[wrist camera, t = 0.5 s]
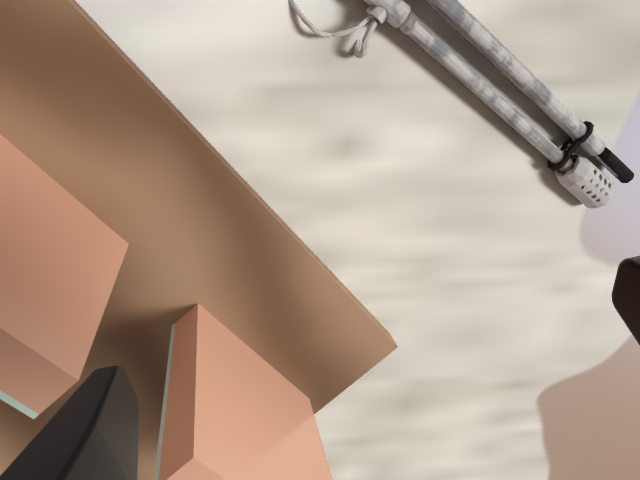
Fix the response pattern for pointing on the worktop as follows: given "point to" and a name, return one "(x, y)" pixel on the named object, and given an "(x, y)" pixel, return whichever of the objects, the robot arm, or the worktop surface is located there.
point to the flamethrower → (568, 167)
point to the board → (166, 225)
